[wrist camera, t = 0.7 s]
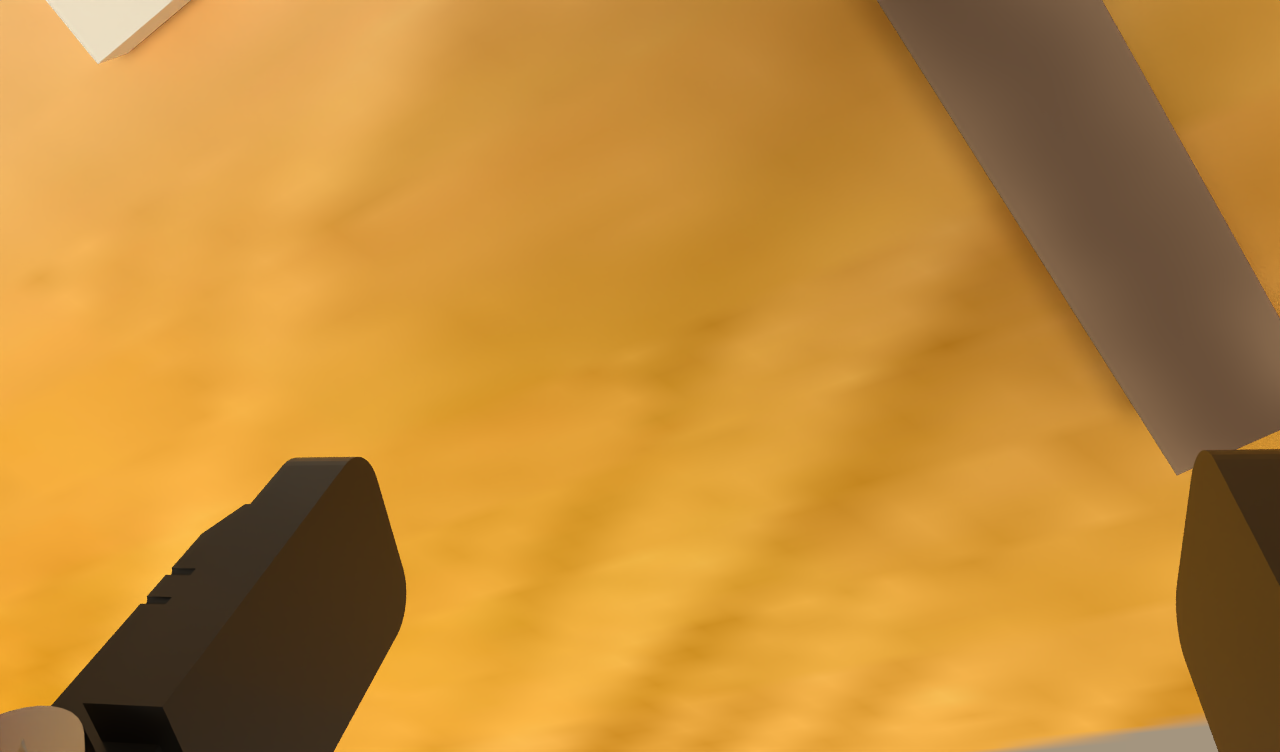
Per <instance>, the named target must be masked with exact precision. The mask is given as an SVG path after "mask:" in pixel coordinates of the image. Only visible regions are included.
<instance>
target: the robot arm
mask: <svg viewBox="0 0 1280 752" xmlns="http://www.w3.org/2000/svg"><path fill="white" fill-rule="evenodd" d="M405 605H406V581H405V575H404V570H403V567H402V563H401V560H400V556H399V553H398V550H397V546H396V543H395V539H394V536H393V532H392V529H391V525H390V522H389V519H388V515H387V512H386V508H385V505H384V501H383V498H382V494H381V491H380V488H379V484H378V481H377V478H376V475H375V472H374V470H373V468H372V466H371V465H370V464H369V462H368V461H367V460H365V459H364V458H361V457H312V458H293V459H290V460H289V461H287V462H286V463H285V464H284V465H283V466H282V467H281V468H280V470H279V471H278V472H277V473H276V474H275V475H274V477H273V478H272V479H271V480H270V481H269V483H268V484H267V485H266V486H265V487H264V489H263V490H262V491H261V492H260V493H259V494H258V496H257V497H256V498H255V499H254V500H253V502H252V503H251V504H245V505H243V506H242V507H240V508H239V509H237V510H236V511H235V512H233V513H232V514H230V515H229V516H227V517H226V518H224V519H223V520H221V521H220V522H218V523H217V524H216V525H214V526H213V527H211V528H210V529H208V530H207V531H205V532H204V533H202V534H201V535H200V536H199V538H198V539H197V540H196V541H195V542H194V543H193V544H192V546H191V547H190V548H189V549H188V550H187V551H186V552H185V554H184V555H183V556H182V557H181V558H180V559H179V560H178V562H177V563H176V564H175V565H174V566H173V567H172V574H171V575H165V576H164V578H163V579H162V580H161V581H160V582H159V583H158V584H157V586H156V587H155V588H154V589H153V590H152V591H151V592H150V594H149V595H148V596H147V603H146V604H140V605H139V606H138V607H137V608H136V610H135V611H134V612H133V613H132V614H131V615H130V616H129V618H128V619H127V620H126V621H125V622H124V623H123V624H122V626H121V627H120V628H119V629H118V630H117V631H116V632H115V634H114V635H113V636H112V637H111V638H110V639H109V640H108V642H107V643H106V644H105V645H104V646H103V647H102V648H101V649H100V651H99V652H98V653H97V654H96V655H95V656H94V657H93V659H92V660H91V661H90V662H89V663H88V664H87V665H86V667H85V668H84V669H83V670H82V671H81V672H80V673H79V675H78V676H77V677H76V678H75V679H74V680H73V681H72V683H71V684H70V685H69V686H68V687H67V688H66V689H65V691H64V692H63V693H62V694H61V695H60V696H59V697H58V699H57V700H56V701H55V702H54V703H53V704H52V705H51V706H35V707H27V708H22V709H17V710H13V711H9V712H6V713H3V714H0V752H334V750H335V748H336V746H337V744H338V743H339V741H340V739H341V737H342V735H343V733H344V732H345V730H346V728H347V726H348V724H349V722H350V720H351V719H352V717H353V715H354V713H355V711H356V709H357V708H358V706H359V704H360V702H361V700H362V698H363V697H364V695H365V693H366V691H367V689H368V687H369V686H370V684H371V682H372V680H373V678H374V676H375V675H376V673H377V671H378V669H379V667H380V665H381V664H382V662H383V660H384V658H385V656H386V654H387V652H388V651H389V649H390V647H391V645H392V643H393V641H394V640H395V638H396V636H397V634H398V632H399V630H400V627H401V624H402V621H403V617H404V612H405ZM1176 613H1177V625H1178V632H1179V638H1180V643H1181V648H1182V652H1183V655H1184V658H1185V661H1186V664H1187V667H1188V670H1189V672H1190V675H1191V678H1192V680H1193V683H1194V686H1195V689H1196V691H1197V694H1198V697H1199V700H1200V702H1201V705H1202V708H1203V711H1204V713H1205V716H1206V719H1207V721H1208V724H1209V727H1210V730H1211V732H1212V735H1213V738H1214V741H1215V743H1216V746H1217V749H1218V752H1280V449H1258V450H1202V451H1201V452H1199V454H1198V455H1197V457H1196V460H1195V462H1194V466H1193V470H1192V476H1191V484H1190V491H1189V499H1188V506H1187V513H1186V521H1185V528H1184V536H1183V543H1182V551H1181V558H1180V566H1179V573H1178V581H1177V590H1176Z"/></svg>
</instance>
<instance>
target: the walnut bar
mask: <svg viewBox="0 0 1280 752" xmlns="http://www.w3.org/2000/svg"><path fill="white" fill-rule="evenodd" d="M877 1H878V3H879V4H880V6H881V8H882V9H883V11H884V12H885V14H886V16H887V17H888V19H889V20H890V22H891V23H892V25H893V27H894V28H895V30H896V31H897V33H898V35H899V36H900V38H901V39H902V41H903V42H904V44H905V46H906V47H907V49H908V50H909V52H910V54H911V55H912V57H913V58H914V60H915V61H916V63H917V65H918V66H919V68H920V69H921V71H922V73H923V74H924V76H925V77H926V79H927V80H928V82H929V84H930V85H931V87H932V88H933V90H934V92H935V93H936V95H937V96H938V98H939V99H940V101H941V103H942V104H943V106H944V107H945V109H946V111H947V112H948V114H949V115H950V117H951V119H952V120H953V122H954V123H955V125H956V126H957V128H958V130H959V131H960V133H961V134H962V136H963V138H964V139H965V141H966V142H967V144H968V145H969V147H970V149H971V150H972V152H973V153H974V155H975V157H976V158H977V160H978V161H979V163H980V164H981V166H982V168H983V169H984V171H985V172H986V174H987V176H988V177H989V179H990V180H991V182H992V183H993V185H994V187H995V188H996V190H997V191H998V193H999V195H1000V196H1001V198H1002V199H1003V201H1004V202H1005V204H1006V206H1007V207H1008V209H1009V210H1010V212H1011V214H1012V215H1013V217H1014V218H1015V220H1016V221H1017V223H1018V225H1019V226H1020V228H1021V229H1022V231H1023V233H1024V234H1025V236H1026V237H1027V239H1028V241H1029V242H1030V244H1031V245H1032V247H1033V248H1034V250H1035V252H1036V253H1037V255H1038V256H1039V258H1040V260H1041V261H1042V263H1043V264H1044V266H1045V267H1046V269H1047V271H1048V272H1049V274H1050V275H1051V277H1052V279H1053V280H1054V282H1055V283H1056V285H1057V286H1058V288H1059V290H1060V291H1061V293H1062V294H1063V296H1064V298H1065V299H1066V301H1067V302H1068V304H1069V305H1070V307H1071V309H1072V310H1073V312H1074V313H1075V315H1076V317H1077V318H1078V320H1079V321H1080V323H1081V324H1082V326H1083V328H1084V329H1085V331H1086V332H1087V334H1088V336H1089V337H1090V339H1091V340H1092V342H1093V343H1094V345H1095V347H1096V348H1097V350H1098V351H1099V353H1100V355H1101V356H1102V358H1103V359H1104V361H1105V363H1106V364H1107V366H1108V367H1109V369H1110V370H1111V372H1112V374H1113V375H1114V377H1115V378H1116V380H1117V382H1118V383H1119V385H1120V386H1121V388H1122V389H1123V391H1124V393H1125V394H1126V396H1127V397H1128V399H1129V401H1130V402H1131V404H1132V405H1133V407H1134V408H1135V410H1136V412H1137V413H1138V415H1139V416H1140V418H1141V420H1142V421H1143V423H1144V424H1145V426H1146V427H1147V429H1148V431H1149V432H1150V434H1151V435H1152V437H1153V439H1154V440H1155V442H1156V443H1157V445H1158V446H1159V448H1160V450H1161V451H1162V453H1163V454H1164V456H1165V458H1166V459H1167V461H1168V462H1169V464H1170V465H1171V467H1172V469H1173V470H1174V472H1175V473H1176V475H1179V474H1181V473H1183V472H1186V471H1188V470H1190V469H1192V468H1193V466H1194V462H1195V460H1196V457H1197V455H1198V454H1199V452H1201V451H1202V450H1236V449H1238V448H1240V447H1243V446H1245V445H1247V444H1249V443H1252V442H1254V441H1256V440H1258V439H1261V438H1263V437H1265V436H1268V435H1270V434H1272V433H1274V432H1277V431H1279V430H1280V318H1279V316H1278V314H1277V313H1276V311H1275V309H1274V307H1273V306H1272V304H1271V302H1270V300H1269V298H1268V297H1267V295H1266V293H1265V291H1264V289H1263V288H1262V286H1261V284H1260V282H1259V280H1258V279H1257V277H1256V275H1255V273H1254V271H1253V270H1252V268H1251V266H1250V264H1249V263H1248V261H1247V259H1246V257H1245V255H1244V254H1243V252H1242V250H1241V248H1240V246H1239V245H1238V243H1237V241H1236V239H1235V237H1234V236H1233V234H1232V232H1231V230H1230V229H1229V227H1228V225H1227V223H1226V221H1225V220H1224V218H1223V216H1222V214H1221V212H1220V211H1219V209H1218V207H1217V205H1216V203H1215V202H1214V200H1213V198H1212V196H1211V194H1210V193H1209V191H1208V189H1207V187H1206V186H1205V184H1204V182H1203V180H1202V178H1201V177H1200V175H1199V173H1198V171H1197V169H1196V168H1195V166H1194V164H1193V162H1192V160H1191V159H1190V157H1189V155H1188V153H1187V151H1186V150H1185V148H1184V146H1183V144H1182V143H1181V141H1180V139H1179V137H1178V135H1177V134H1176V132H1175V130H1174V128H1173V126H1172V125H1171V123H1170V121H1169V119H1168V117H1167V116H1166V114H1165V112H1164V110H1163V108H1162V107H1161V105H1160V103H1159V101H1158V100H1157V98H1156V96H1155V94H1154V92H1153V91H1152V89H1151V87H1150V85H1149V83H1148V82H1147V80H1146V78H1145V76H1144V74H1143V73H1142V71H1141V69H1140V67H1139V66H1138V64H1137V62H1136V60H1135V58H1134V57H1133V55H1132V53H1131V51H1130V49H1129V48H1128V46H1127V44H1126V42H1125V40H1124V39H1123V37H1122V35H1121V33H1120V31H1119V30H1118V28H1117V26H1116V24H1115V23H1114V21H1113V19H1112V17H1111V15H1110V14H1109V12H1108V10H1107V8H1106V6H1105V5H1104V3H1103V1H1102V0H877Z"/></svg>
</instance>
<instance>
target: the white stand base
mask: <svg viewBox="0 0 1280 752" xmlns="http://www.w3.org/2000/svg"><path fill="white" fill-rule="evenodd" d="M46 1H47V2H48V4H49V5H50V6H51V7H52V8H53V10H54V11H55V12H56V13H57V15H58V16H59V17H60V18H61V20H62V21H63V22H64V23H65V24H66V26H67V27H68V28H69V29H70V31H71V32H72V33H73V34H74V35H75V37H76V38H77V39H78V40H79V42H80V43H81V44H82V45H83V47H84V48H85V49H86V50H87V51H88V53H89V54H90V55H91V56H92V58H93V59H94V60H95V61H96V62H97V64H99V63H102V62H105V61H108V60H110V59H113V58H116V57H119V56H121V55H124V54H127V53H129V52H130V51H131V50H132V49H133V48H135V47H136V46H137V45H138V44H139V43H140V42H142V41H143V40H144V39H145V38H146V37H148V36H149V35H150V34H151V33H152V32H154V31H155V30H156V29H157V28H158V27H160V26H161V25H162V24H163V23H164V22H165V21H167V20H168V19H169V18H170V17H171V16H173V15H174V14H175V13H176V12H177V11H179V10H180V9H181V8H182V7H183V6H184V5H186V4H187V3H188V2H189V1H190V0H46Z"/></svg>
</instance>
